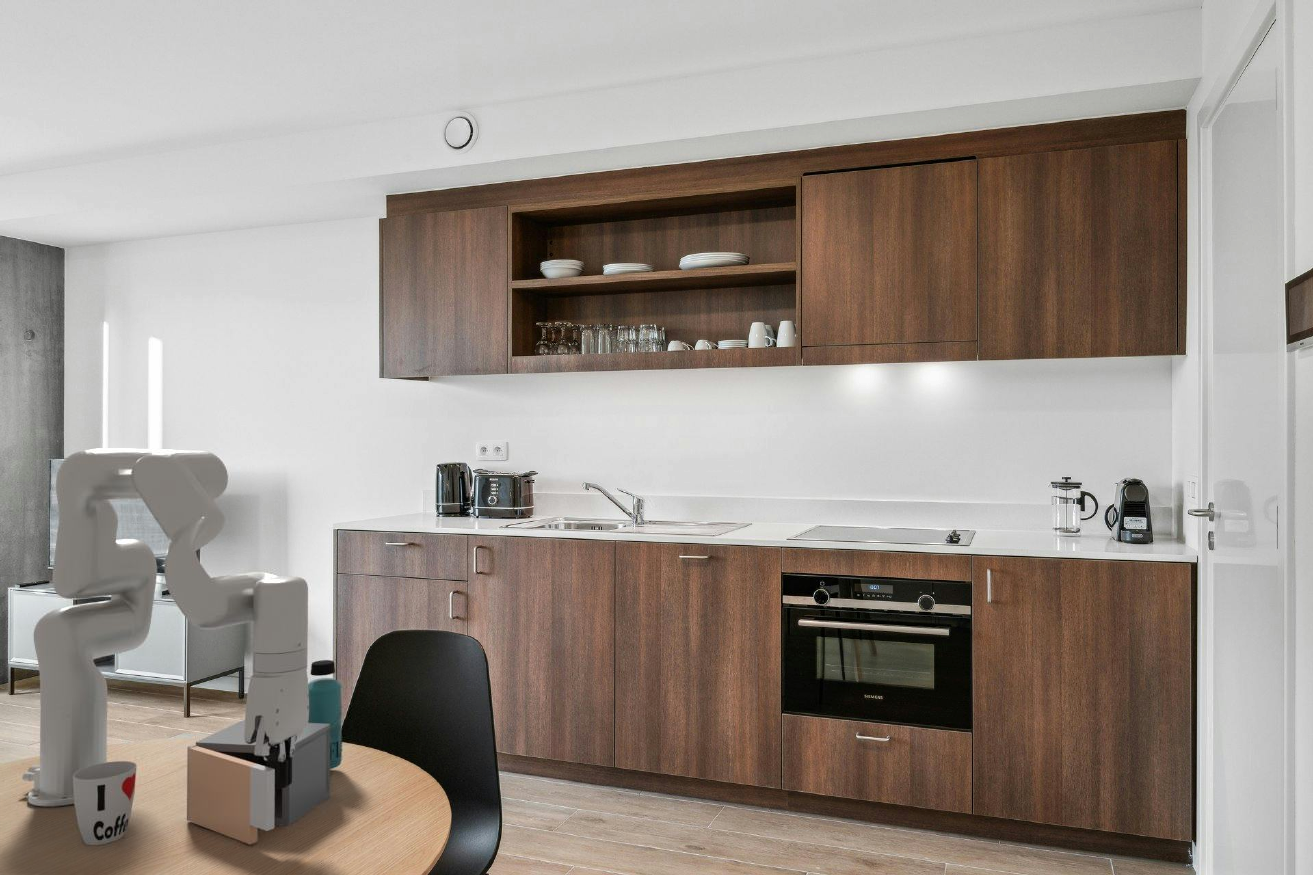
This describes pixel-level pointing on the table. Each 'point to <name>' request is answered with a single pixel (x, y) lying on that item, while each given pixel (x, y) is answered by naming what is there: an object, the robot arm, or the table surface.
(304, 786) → the grey smooth box
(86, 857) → the table surface
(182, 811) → the table surface
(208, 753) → the door
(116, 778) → the cup
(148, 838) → the table surface
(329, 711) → the beverage bottle
